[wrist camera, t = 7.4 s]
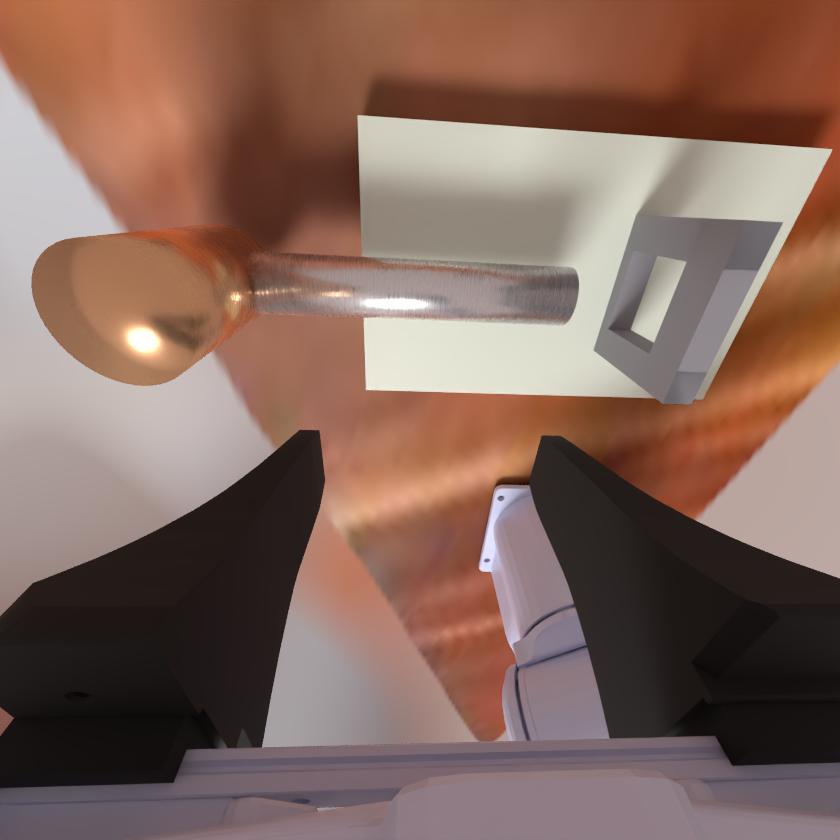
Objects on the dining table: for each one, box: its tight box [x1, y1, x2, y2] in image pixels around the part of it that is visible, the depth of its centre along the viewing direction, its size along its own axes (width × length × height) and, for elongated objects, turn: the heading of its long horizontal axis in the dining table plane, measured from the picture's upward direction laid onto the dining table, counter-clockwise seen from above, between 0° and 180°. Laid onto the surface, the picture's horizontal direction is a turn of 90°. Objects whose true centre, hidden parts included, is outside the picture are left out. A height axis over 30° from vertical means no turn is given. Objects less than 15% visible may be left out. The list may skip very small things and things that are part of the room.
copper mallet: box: [32, 224, 579, 386], centre depth 13 cm, size 4×17×7 cm, turn 87°
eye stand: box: [358, 115, 833, 405], centre depth 16 cm, size 12×20×8 cm, turn 87°
